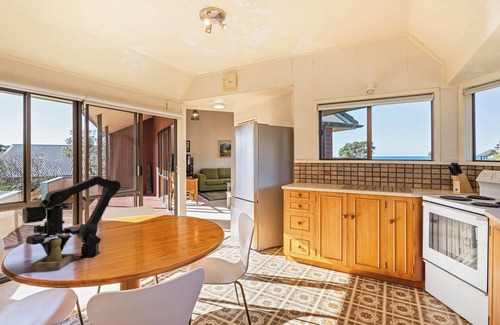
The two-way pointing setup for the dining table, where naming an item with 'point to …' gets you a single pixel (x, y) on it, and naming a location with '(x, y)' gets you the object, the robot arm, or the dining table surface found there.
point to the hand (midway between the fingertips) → (54, 254)
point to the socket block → (52, 263)
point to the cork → (55, 250)
